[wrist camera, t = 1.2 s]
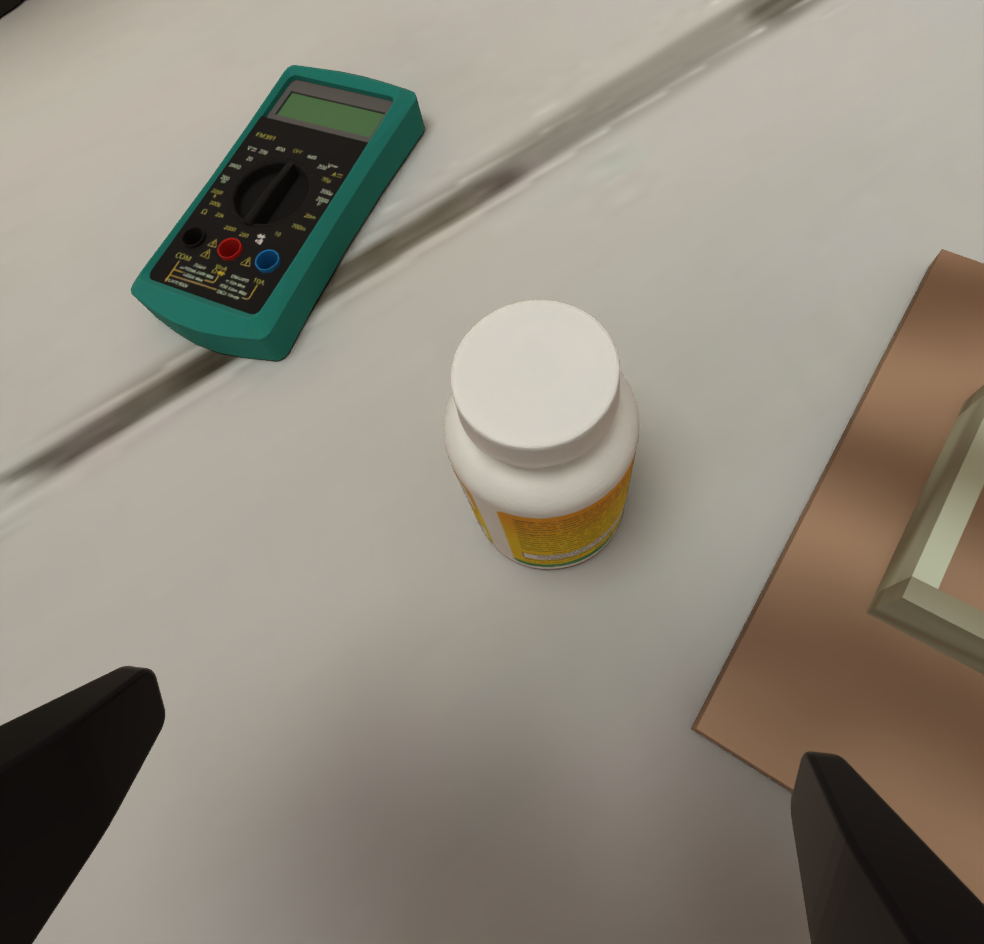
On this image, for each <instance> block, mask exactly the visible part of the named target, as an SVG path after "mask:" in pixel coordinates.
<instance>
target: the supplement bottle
mask: <svg viewBox="0 0 984 944" xmlns="http://www.w3.org/2000/svg"><path fill="white" fill-rule="evenodd" d="M451 390H452V393H451V395H450V397H449V400H448V403H447V407H446V411H445V416H444V440H445V446H446V451H447V454H448V457H449V460H450V462H451V465H452V467H453V470H454V472H455V474H456V476H457V478H458V480H459V482H460V485H461V487H462V489H463V491H464V493H465V495H466V497H467V499H468V501H469V503H470V505H471V507H472V510H473V512H474V514H475V516H476V519H477V520H478V522H479V524H480V526H481V528H482V530H483V532H484V533H485V535H486V536H487V538H488V539H489V541H490V542H491V543H492V544H493V546H494V547H495V548H496V549H497V550H499V551H500V552H501V553H502V554H504V555H505V556H506V557H508V558H510V559H511V560H513V561H515V562H517V563H520V564H522V565H525V566H528V567H532V568H539V569H555V568H564V567H569V566H573V565H576V564H579V563H581V562H583V561H585V560H587V559H589V558H591V557H592V556H594V555H595V554H597V553H598V552H599V551H600V550H601V549H602V548H603V547H604V546H605V545H606V544H607V543H608V542H609V541H610V539H611V538H612V537H613V535H614V533H615V532H616V530H617V528H618V526H619V523H620V521H621V518H622V514H623V510H624V506H625V502H626V497H627V492H628V487H629V482H630V477H631V472H632V467H633V462H634V457H635V452H636V448H637V443H638V437H639V415H638V408H637V404H636V400H635V397H634V394H633V391H632V389H631V387H630V385H629V383H628V381H627V380H626V378H625V377H624V375H623V374H622V372H621V371H620V362H619V357H618V353H617V350H616V347H615V345H614V343H613V341H612V339H611V337H610V335H609V334H608V333H607V331H606V330H605V329H604V328H603V326H602V325H601V324H600V323H599V322H598V321H597V320H596V319H594V318H593V317H592V316H590V315H589V314H587V313H586V312H584V311H582V310H581V309H579V308H577V307H574V306H571V305H569V304H566V303H562V302H558V301H552V300H530V301H521V302H517V303H513V304H509V305H507V306H504V307H502V308H499V309H497V310H495V311H494V312H492V313H490V314H489V315H487V316H486V317H484V318H483V319H482V320H480V321H479V322H478V323H477V324H476V325H475V326H474V327H473V328H472V329H471V330H470V331H469V332H468V333H467V334H466V336H465V337H464V338H463V340H462V341H461V343H460V345H459V347H458V349H457V351H456V353H455V356H454V359H453V363H452V368H451Z"/></svg>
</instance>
